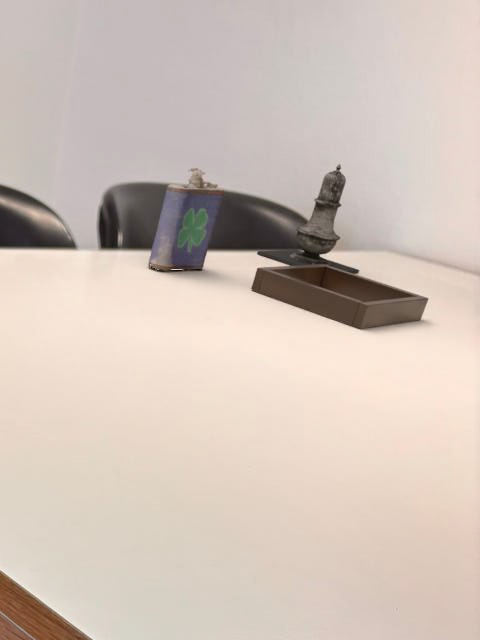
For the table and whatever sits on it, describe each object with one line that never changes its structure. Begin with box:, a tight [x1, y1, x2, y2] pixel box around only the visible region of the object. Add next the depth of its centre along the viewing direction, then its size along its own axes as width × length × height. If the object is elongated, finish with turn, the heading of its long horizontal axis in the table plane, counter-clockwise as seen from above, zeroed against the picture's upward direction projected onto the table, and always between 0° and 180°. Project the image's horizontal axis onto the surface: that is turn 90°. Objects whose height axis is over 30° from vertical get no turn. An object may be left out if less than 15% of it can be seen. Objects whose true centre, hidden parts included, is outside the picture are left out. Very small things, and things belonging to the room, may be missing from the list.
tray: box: [250, 264, 429, 330], centre depth 121 cm, size 15×14×2 cm
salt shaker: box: [290, 163, 347, 266], centre depth 139 cm, size 6×6×12 cm
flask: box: [147, 167, 225, 271], centre depth 121 cm, size 9×3×11 cm, turn 133°
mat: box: [256, 249, 360, 274], centre depth 142 cm, size 10×10×1 cm
